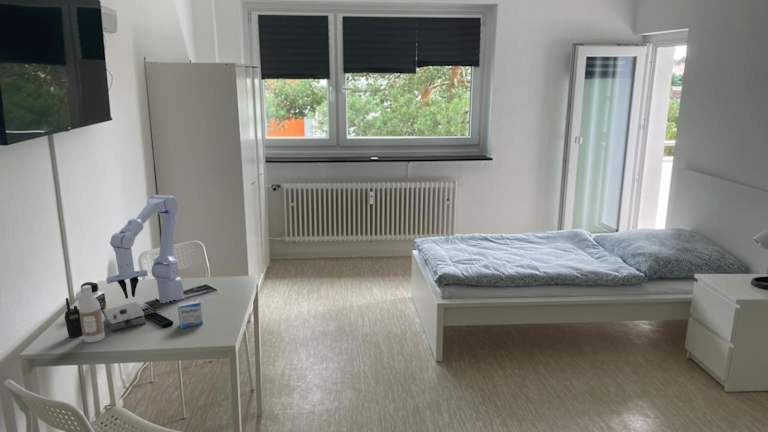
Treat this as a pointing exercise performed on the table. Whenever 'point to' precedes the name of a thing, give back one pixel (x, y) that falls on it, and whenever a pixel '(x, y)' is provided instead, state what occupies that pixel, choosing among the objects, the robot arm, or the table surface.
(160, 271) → the robot arm
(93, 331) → the bath foam
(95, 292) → the medicine bottle
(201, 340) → the table surface
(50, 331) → the table surface
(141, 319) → the flat grey box
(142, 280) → the table surface
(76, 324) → the two-way radio
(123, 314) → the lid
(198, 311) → the medicine box
